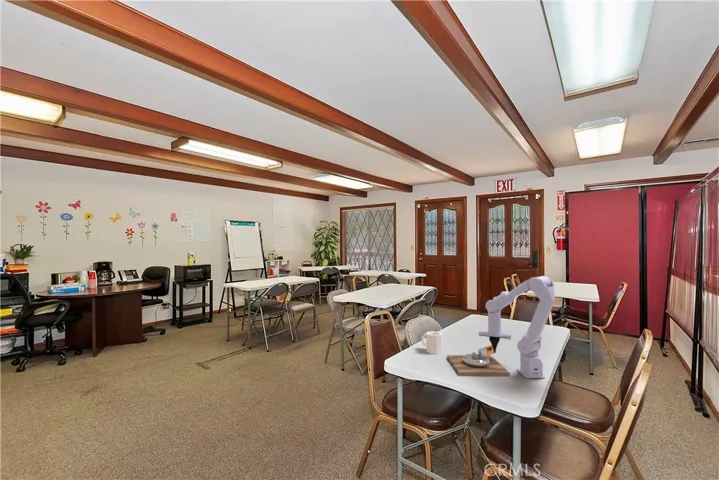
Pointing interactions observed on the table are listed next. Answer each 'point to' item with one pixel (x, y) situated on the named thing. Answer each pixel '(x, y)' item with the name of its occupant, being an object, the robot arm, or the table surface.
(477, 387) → the table surface
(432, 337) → the mug
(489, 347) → the silver orange handled piece
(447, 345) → the table surface
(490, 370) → the base plate
